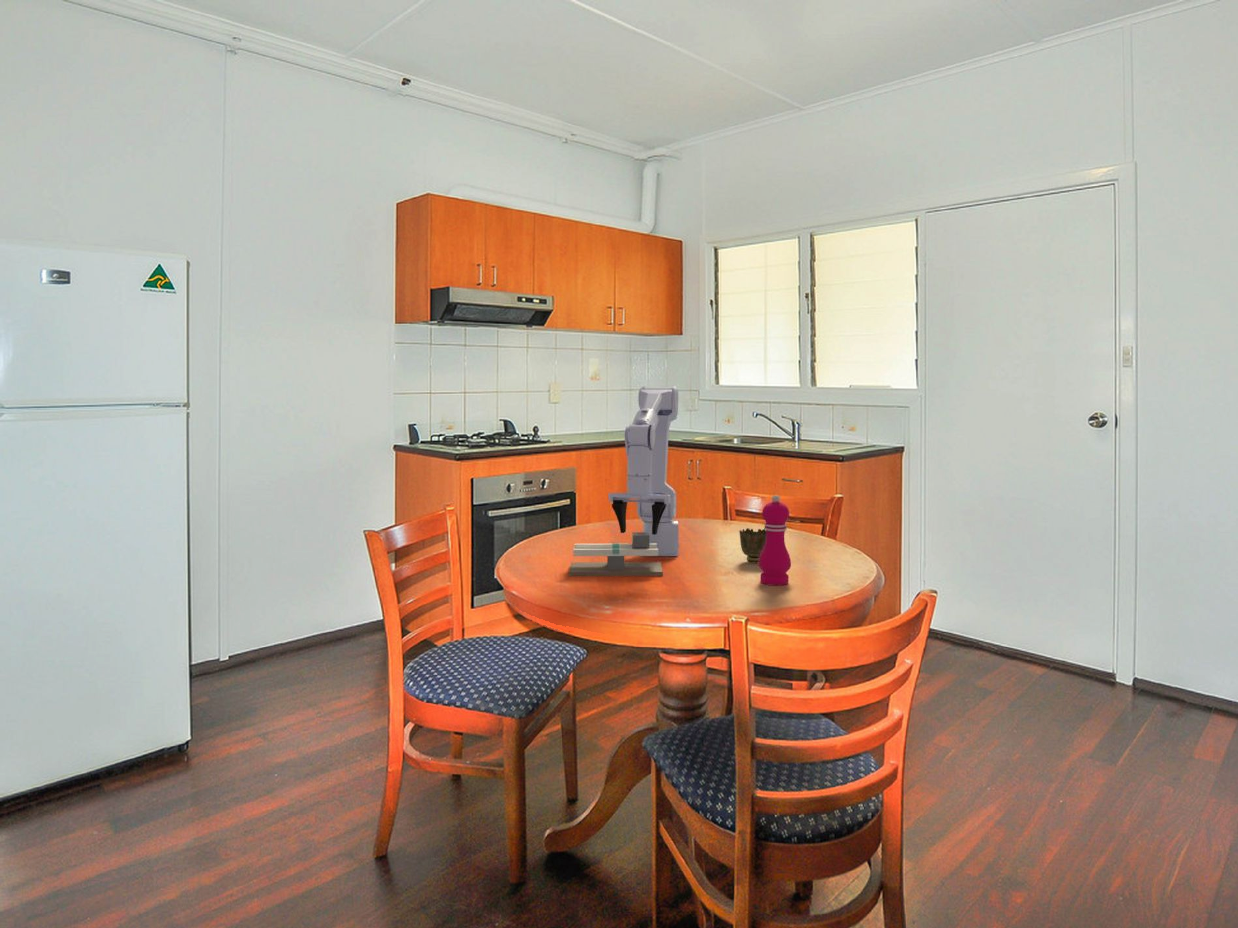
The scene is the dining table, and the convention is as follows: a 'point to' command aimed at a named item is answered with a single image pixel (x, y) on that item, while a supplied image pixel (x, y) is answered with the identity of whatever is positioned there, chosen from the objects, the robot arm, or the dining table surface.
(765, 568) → the pepper mill
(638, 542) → the rider
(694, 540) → the dining table surface
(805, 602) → the dining table surface
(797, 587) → the dining table surface
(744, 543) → the cup
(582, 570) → the balance stand
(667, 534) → the robot arm
